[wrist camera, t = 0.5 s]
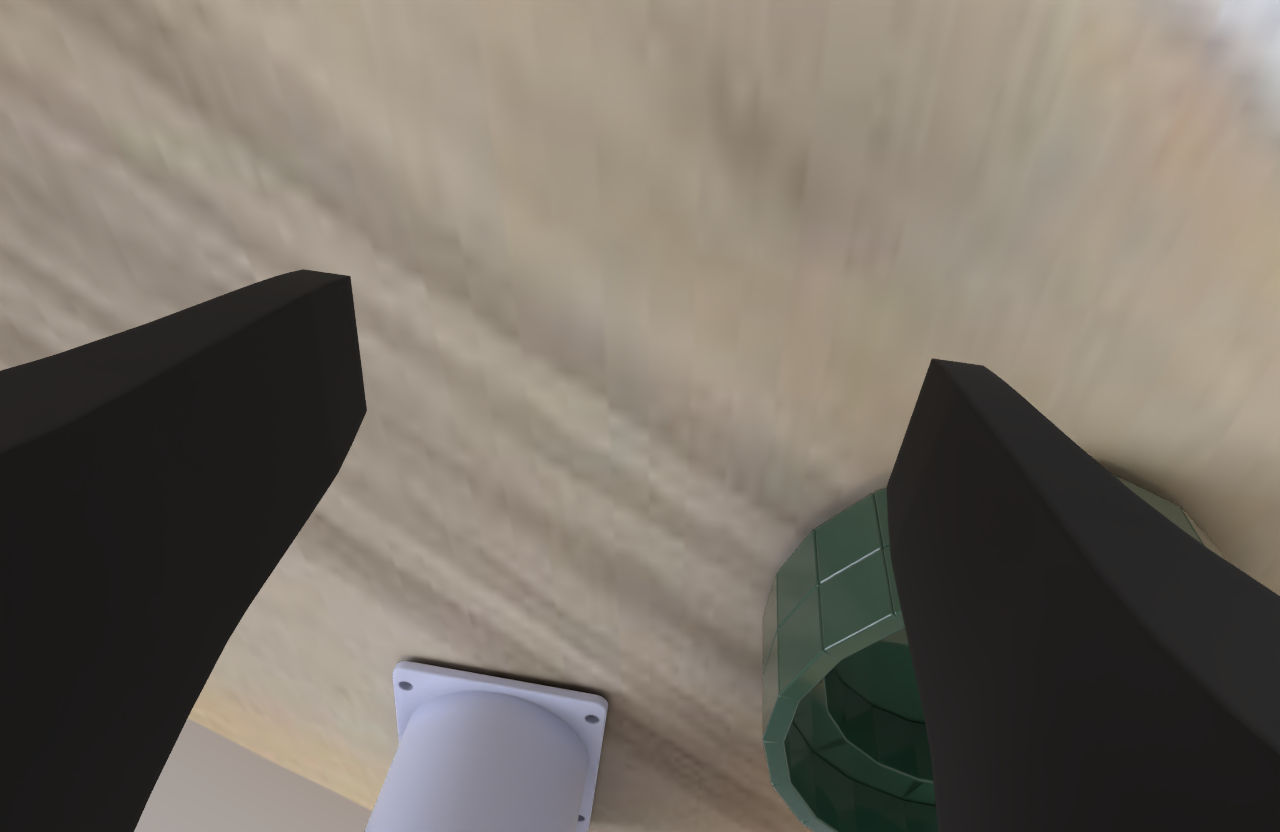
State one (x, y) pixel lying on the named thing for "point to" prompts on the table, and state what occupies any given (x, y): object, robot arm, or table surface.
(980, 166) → the table surface
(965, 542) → the robot arm
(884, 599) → the bowl
